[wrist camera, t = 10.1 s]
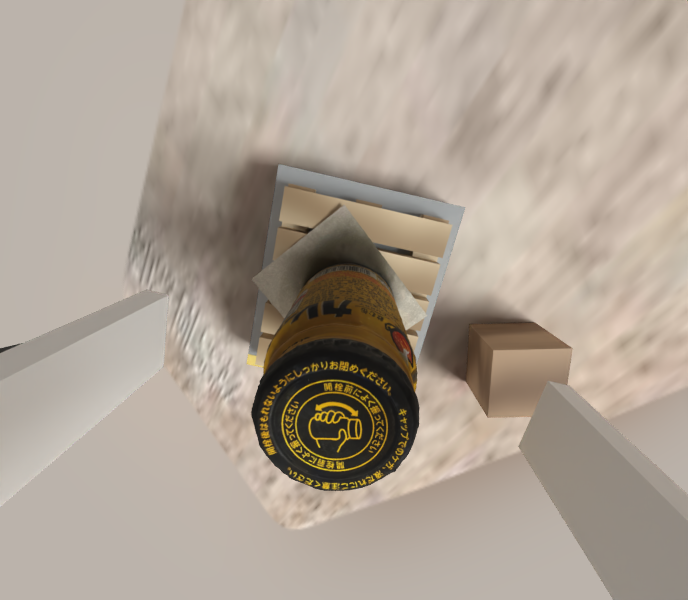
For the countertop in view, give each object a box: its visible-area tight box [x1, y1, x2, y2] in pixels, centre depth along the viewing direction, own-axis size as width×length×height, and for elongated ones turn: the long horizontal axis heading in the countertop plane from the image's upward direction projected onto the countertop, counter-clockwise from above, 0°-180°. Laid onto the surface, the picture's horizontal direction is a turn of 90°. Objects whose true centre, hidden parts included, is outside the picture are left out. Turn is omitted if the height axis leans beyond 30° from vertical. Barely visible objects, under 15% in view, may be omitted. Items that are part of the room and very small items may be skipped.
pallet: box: [255, 184, 452, 366], centre depth 23 cm, size 12×10×2 cm
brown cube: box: [466, 323, 573, 418], centre depth 26 cm, size 5×5×5 cm
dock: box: [247, 164, 465, 368], centre depth 25 cm, size 14×12×3 cm
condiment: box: [251, 205, 427, 491], centre depth 16 cm, size 7×8×12 cm
